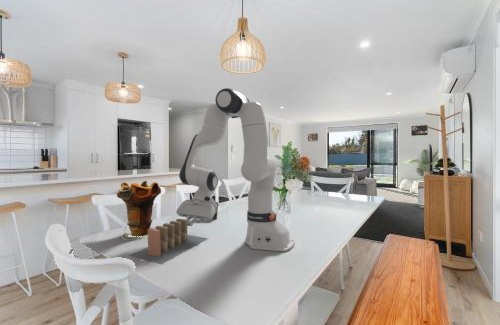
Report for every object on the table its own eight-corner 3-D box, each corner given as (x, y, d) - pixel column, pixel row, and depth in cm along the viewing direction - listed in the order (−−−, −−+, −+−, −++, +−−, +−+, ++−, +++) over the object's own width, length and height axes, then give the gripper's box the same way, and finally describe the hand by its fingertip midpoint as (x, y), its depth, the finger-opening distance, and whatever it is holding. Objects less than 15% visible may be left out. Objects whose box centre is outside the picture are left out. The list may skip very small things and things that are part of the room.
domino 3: (166, 245, 105) (165, 223, 105) (175, 247, 103) (174, 224, 103) (163, 247, 104) (162, 224, 103) (172, 249, 102) (171, 225, 101)
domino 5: (179, 239, 112) (178, 218, 112) (187, 241, 110) (187, 219, 110) (176, 241, 111) (176, 219, 111) (185, 242, 109) (184, 220, 108)
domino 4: (172, 242, 109) (172, 220, 109) (181, 244, 107) (181, 221, 106) (170, 244, 107) (169, 221, 107) (179, 245, 105) (178, 222, 105)
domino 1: (151, 252, 98) (150, 228, 98) (160, 254, 96) (160, 229, 96) (148, 254, 97) (147, 229, 96) (157, 256, 94) (156, 231, 94)
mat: (208, 240, 114) (208, 238, 114) (161, 266, 88) (161, 264, 88) (179, 234, 122) (179, 233, 122) (127, 257, 96) (127, 255, 96)
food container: (221, 216, 156) (221, 201, 155) (219, 219, 150) (218, 203, 149) (202, 216, 157) (202, 201, 157) (199, 219, 151) (199, 203, 150)
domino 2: (159, 249, 102) (158, 225, 101) (168, 251, 100) (167, 227, 99) (156, 250, 100) (155, 226, 100) (165, 252, 98) (164, 228, 98)
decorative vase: (147, 224, 140) (147, 175, 138) (170, 234, 125) (170, 180, 123) (108, 233, 124) (107, 179, 122) (129, 246, 109) (128, 185, 107)
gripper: (181, 195, 125) (168, 219, 117) (214, 198, 117) (202, 224, 108) (187, 202, 130) (175, 226, 121) (220, 206, 121) (208, 231, 112)
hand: (188, 225), depth 115 cm, fingers closed
